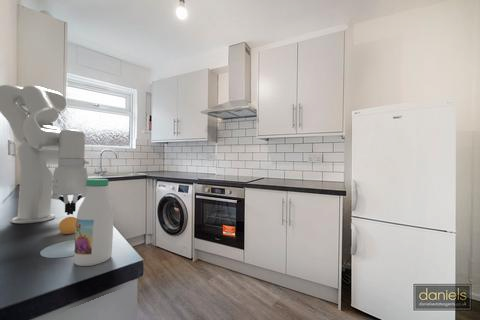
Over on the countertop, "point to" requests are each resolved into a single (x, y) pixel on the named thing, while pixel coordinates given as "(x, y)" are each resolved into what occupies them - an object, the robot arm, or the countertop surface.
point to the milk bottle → (94, 225)
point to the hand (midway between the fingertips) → (70, 214)
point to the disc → (59, 250)
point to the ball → (68, 225)
